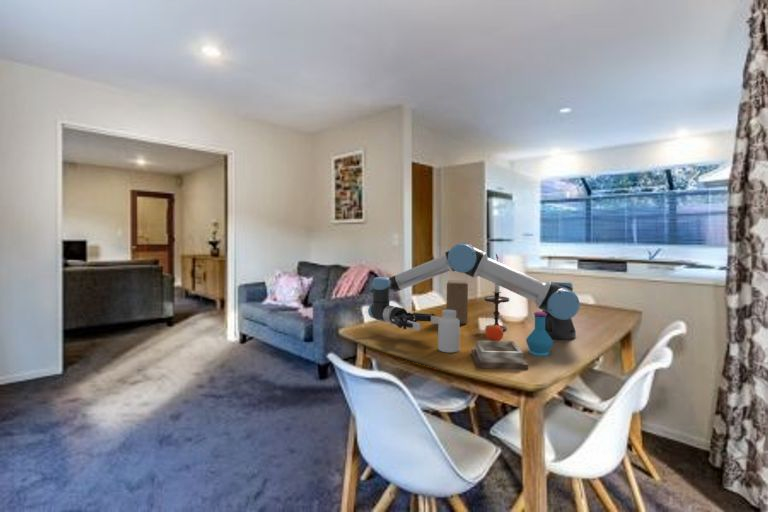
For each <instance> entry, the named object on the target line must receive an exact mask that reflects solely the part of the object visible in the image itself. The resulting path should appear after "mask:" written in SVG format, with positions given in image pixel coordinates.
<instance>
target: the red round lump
mask: <svg viewBox="0 0 768 512" xmlns="http://www.w3.org/2000/svg"><path fill="white" fill-rule="evenodd" d="M488 325H490V326H489V327H488V328H487V329H486V328H485V329H486V330H485V336H486V338H487V339H488V341H502V339H503V337H504V332H503V330H502V328H501V327H500V326H501V325H500V326H498V325H495V324H494V323H493V324H488ZM488 325H486V326H488Z"/></svg>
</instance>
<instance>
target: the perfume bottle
mask: <svg viewBox="0 0 768 512" xmlns="http://www.w3.org/2000/svg"><path fill="white" fill-rule="evenodd" d="M533 315H534V329H533V330H532V331H531V332H530V334H529V335H528V336H527V337H526V340H525V342H526V344H527V346H528V349H529V353H530V354H532V355H533V356H534V355H535V356H542V357H543V356H546V357H547V356H548V355H550V351H551V350H552V349H551V348H552V347H553V345H554V340H553V338H551V337H550V336H549V335H548V333H547V332H546V330H545V318H546V315H547V314H546V313H545V312H542V311H535V312H534V313H533Z"/></svg>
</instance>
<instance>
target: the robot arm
mask: <svg viewBox="0 0 768 512" xmlns="http://www.w3.org/2000/svg"><path fill="white" fill-rule="evenodd" d="M450 271H451V272H457V273H461V274H462V273H463V274H465V275H467V276H470V277H472V278H477V277H480V278H482V279H484V280H486V281H489V282H491V283H494V285H495V284H497V285H499V287H501V288H504V289H506V290H509V291H510V292H512V293H514V294H516V295H518V296H521V297H523V298H525V299H528V301H531V302H534V304H535V306H536V308H538V309H539V310H541V312H545V313H546V314H547V315H546V318H545V330H546V332H547V333H548V335H549V336H550V337H551V339H552V340H553V339H555V340H572V339H575V338H576V336H577V335H576V334H577V333H576V332H577V331H576V327H575V325H574V322H573V317H574V318H575V316H576V315H577V314H578V313H579V311H580V307H581V304H580V302H581V301H580V300H579V297H578V295H577V294H576V293H575V292H574V291H573V290H574V288H573V283H572V282H568V281H567V282H566V281H565V282H563V281H550V280H549V281H544V282H543V281H541V280H539V279H537V278H534V277H532V276H530V275H528V274H526V273H524V272H521V271H519V270H517V269H514V268H512V267H510V266H508V265H505V264H504V263H501V262H499V261H498V262H497V260H495V259H492V258H490V257H488V255H487V252H486V251H483V250H481V249H479V248H477V247H475V246H474V245H473V244H471V243H468V242H460V243H456V244H454V245H453V246H452V247H450V249H449V250H447V251H445V252H444V253H443V254H442V255H441V256H438V257H436V258H434V259H431V260H429V261H426V262H424V263H421V264H419V265H417V266H415V267H412V268H410V269H407V270H405V271H402V272H400V273H397V274H395V275H393V276H390V277H388V276H377V277H374V278H373V279H372V302H371V303H370V305H369V307H368V308H367V309H368V310H367V312H368V313H367V314H368V315H369V316H370V318H372V319H375V320H376V321H381V322H386V323H389V324H390V325H395V326H397V327H398V328H399V329H403V330H407V329H411V330H415V331H421V323H420V322H430V323H431V324H432V323H433V324H435V325H436V324H437V325H438V321H439V319H440V318H441V317H442V316H441V317H440V316H436V314H435V313H420V312H413V313H412V312H407V309H405V308H403V307H398V306H396V305H395V306H394V305H391V304H390V301H391V299H390V297H391V296H390V295H393V294H394V293H395V294H396V293H397V292H400V291H402V290H405V289H407V288H410V287H412V286H415V285H417V284H420V283H422V282H425V281H427V280H429V279H432V278H435V277H437V276H439V275H443V274H444V273H447V272H450Z"/></svg>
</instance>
